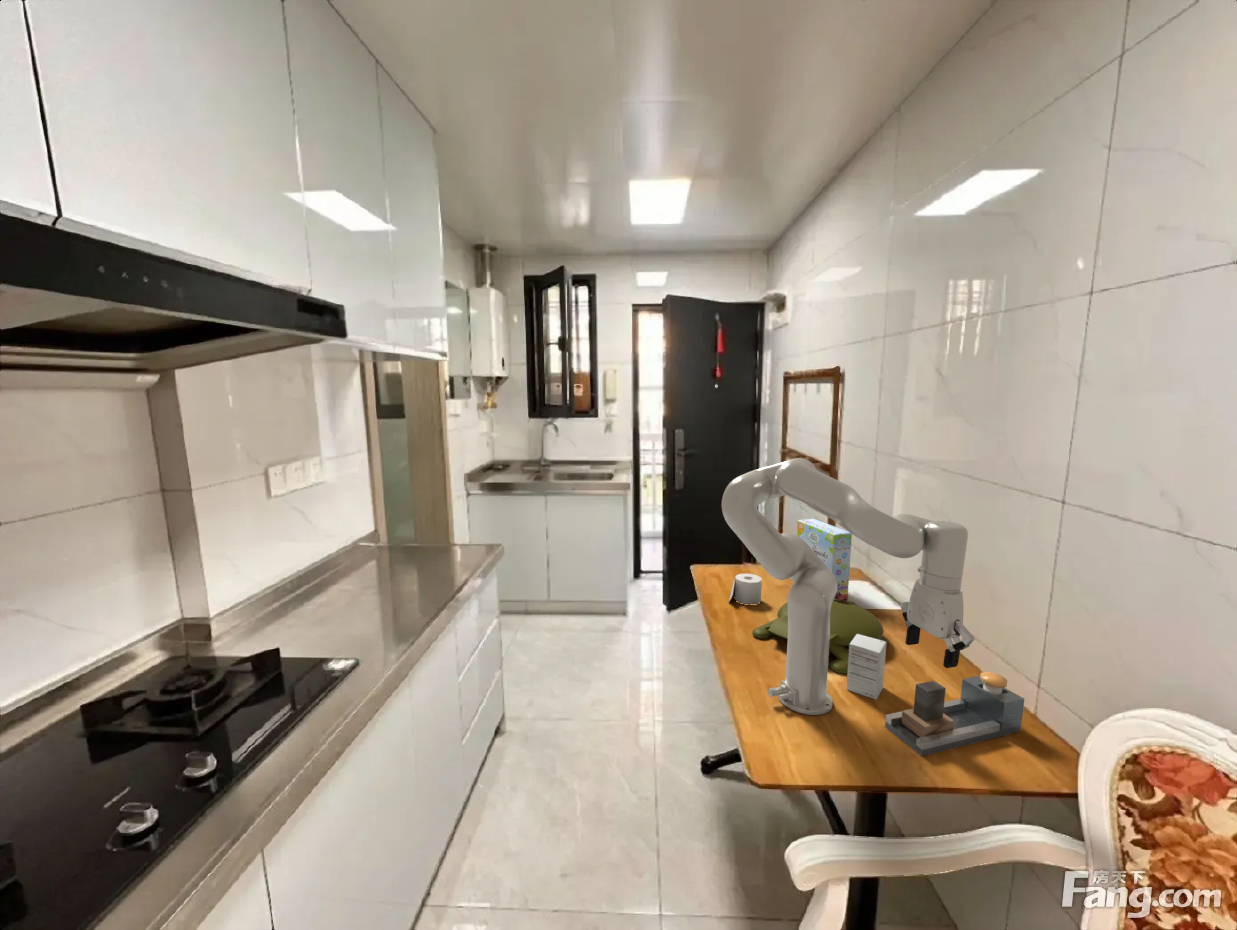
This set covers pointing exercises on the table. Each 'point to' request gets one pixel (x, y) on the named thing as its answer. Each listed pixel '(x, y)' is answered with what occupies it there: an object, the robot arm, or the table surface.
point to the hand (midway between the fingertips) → (930, 655)
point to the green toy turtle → (832, 629)
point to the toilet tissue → (747, 589)
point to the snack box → (829, 549)
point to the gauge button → (993, 682)
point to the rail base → (966, 719)
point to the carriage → (928, 711)
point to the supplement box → (866, 666)
